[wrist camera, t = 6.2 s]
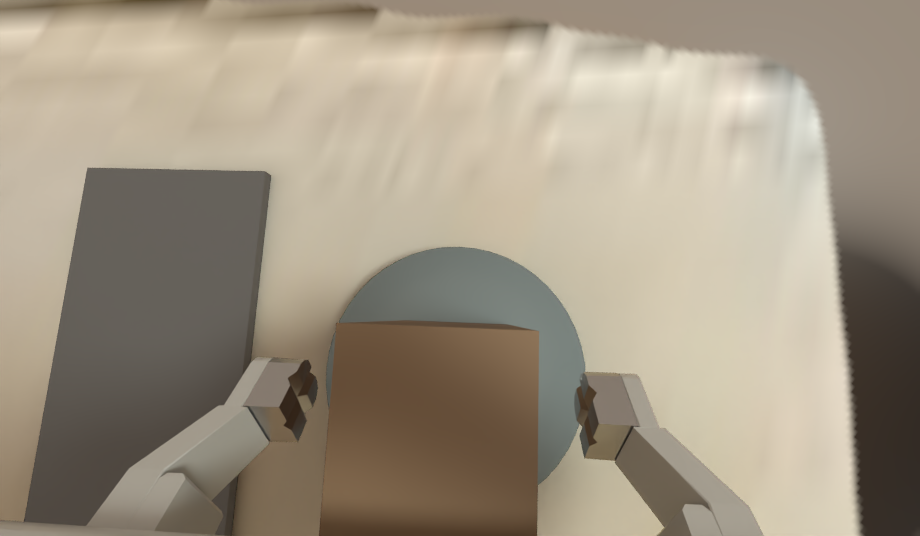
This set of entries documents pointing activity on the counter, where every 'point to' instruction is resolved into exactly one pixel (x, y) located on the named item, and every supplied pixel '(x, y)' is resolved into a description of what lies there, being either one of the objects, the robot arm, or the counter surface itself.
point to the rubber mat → (147, 327)
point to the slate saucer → (485, 301)
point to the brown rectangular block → (432, 430)
